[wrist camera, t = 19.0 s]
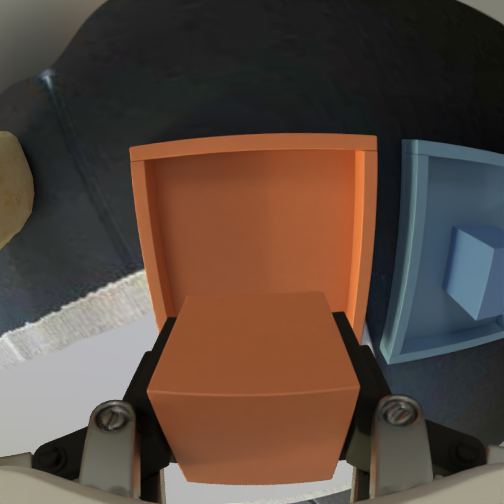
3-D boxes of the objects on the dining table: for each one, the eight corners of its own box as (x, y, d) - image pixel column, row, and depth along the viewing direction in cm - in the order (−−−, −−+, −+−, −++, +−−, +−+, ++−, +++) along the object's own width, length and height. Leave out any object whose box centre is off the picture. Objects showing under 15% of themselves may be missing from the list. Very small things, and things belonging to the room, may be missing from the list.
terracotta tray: (142, 146, 16) (128, 147, 14) (364, 136, 15) (377, 135, 13) (176, 357, 21) (169, 375, 19) (349, 351, 20) (356, 369, 18)
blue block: (452, 225, 16) (493, 248, 12) (495, 225, 16) (535, 246, 12) (441, 288, 18) (475, 320, 14) (483, 282, 18) (518, 310, 13)
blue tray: (401, 139, 15) (417, 139, 13) (525, 161, 15) (542, 164, 13) (379, 348, 20) (387, 364, 18) (495, 325, 20) (506, 336, 18)
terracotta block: (186, 295, 10) (145, 390, 6) (323, 290, 10) (361, 386, 5) (204, 390, 11) (186, 482, 7) (314, 387, 11) (331, 479, 7)
